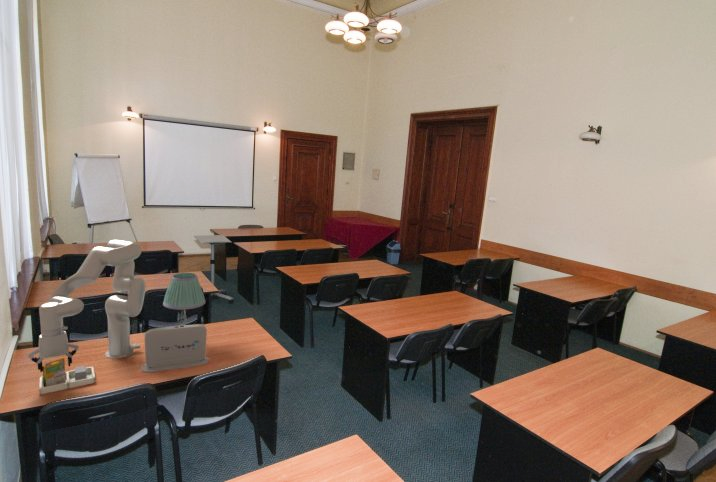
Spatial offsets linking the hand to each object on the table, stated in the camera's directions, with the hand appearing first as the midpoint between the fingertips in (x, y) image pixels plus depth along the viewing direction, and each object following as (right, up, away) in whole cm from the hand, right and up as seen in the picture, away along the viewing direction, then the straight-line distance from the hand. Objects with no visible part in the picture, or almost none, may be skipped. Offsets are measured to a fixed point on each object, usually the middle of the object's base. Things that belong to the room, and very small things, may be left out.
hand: (55, 367), depth 171 cm
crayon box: (-1, -8, +1) cm, 8 cm away
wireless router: (+40, -7, +28) cm, 49 cm away
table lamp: (+34, -3, +50) cm, 60 cm away
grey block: (+7, -7, +6) cm, 12 cm away
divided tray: (+3, -8, +3) cm, 9 cm away
